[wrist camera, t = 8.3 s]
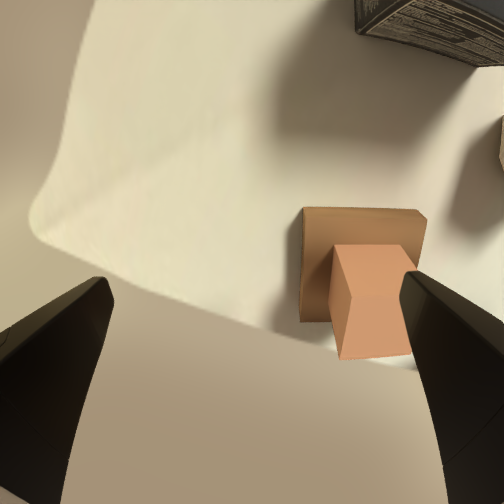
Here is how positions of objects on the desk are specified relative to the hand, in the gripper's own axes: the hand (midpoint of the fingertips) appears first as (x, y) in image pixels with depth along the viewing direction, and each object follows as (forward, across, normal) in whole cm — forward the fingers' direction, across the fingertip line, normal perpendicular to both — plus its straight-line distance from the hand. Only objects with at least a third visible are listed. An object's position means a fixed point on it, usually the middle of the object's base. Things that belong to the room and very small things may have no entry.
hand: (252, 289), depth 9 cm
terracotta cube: (+11, -7, +8) cm, 16 cm away
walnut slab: (+13, -7, +8) cm, 17 cm away
